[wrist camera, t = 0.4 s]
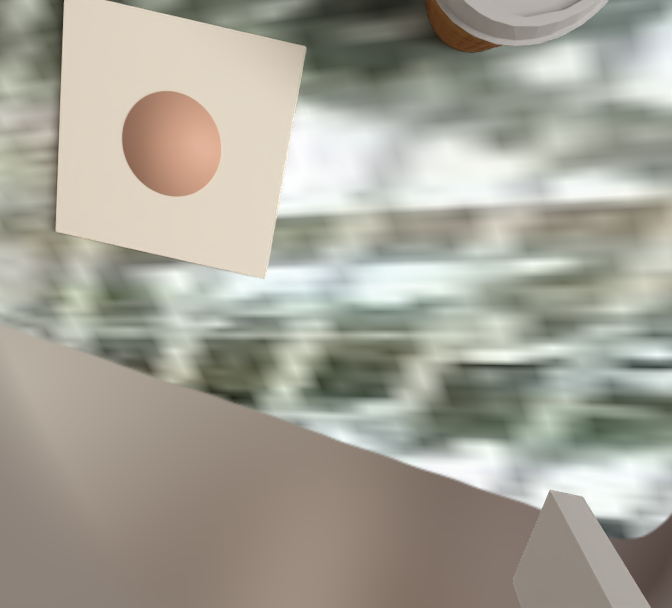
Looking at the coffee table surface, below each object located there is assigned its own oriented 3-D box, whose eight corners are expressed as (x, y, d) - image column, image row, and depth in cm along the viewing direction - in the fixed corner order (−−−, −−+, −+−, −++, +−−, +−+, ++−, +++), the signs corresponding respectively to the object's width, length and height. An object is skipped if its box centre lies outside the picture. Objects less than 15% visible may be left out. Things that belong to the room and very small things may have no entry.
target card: (69, -7, 32) (63, -10, 31) (306, 48, 32) (305, 46, 31) (60, 230, 37) (55, 231, 36) (266, 276, 37) (264, 279, 36)
